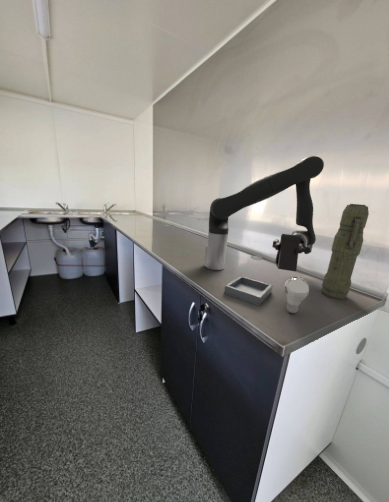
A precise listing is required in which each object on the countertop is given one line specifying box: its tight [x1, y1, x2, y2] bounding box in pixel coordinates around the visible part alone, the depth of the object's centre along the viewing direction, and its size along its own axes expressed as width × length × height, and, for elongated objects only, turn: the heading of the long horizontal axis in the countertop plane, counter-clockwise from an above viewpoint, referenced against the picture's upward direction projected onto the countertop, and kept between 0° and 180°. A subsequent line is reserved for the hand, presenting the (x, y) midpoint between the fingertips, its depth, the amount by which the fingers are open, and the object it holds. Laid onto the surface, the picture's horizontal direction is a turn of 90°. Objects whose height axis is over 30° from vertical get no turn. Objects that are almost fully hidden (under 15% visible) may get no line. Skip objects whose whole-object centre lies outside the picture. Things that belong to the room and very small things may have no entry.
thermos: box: [320, 203, 370, 301], centre depth 80 cm, size 9×12×35 cm
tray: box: [223, 275, 273, 306], centre depth 80 cm, size 13×14×3 cm
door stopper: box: [274, 233, 301, 272], centre depth 78 cm, size 9×6×12 cm, turn 167°
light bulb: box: [283, 276, 310, 315], centre depth 66 cm, size 7×7×12 cm
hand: (286, 249), depth 76 cm, fingers closed on door stopper, 6 cm apart
